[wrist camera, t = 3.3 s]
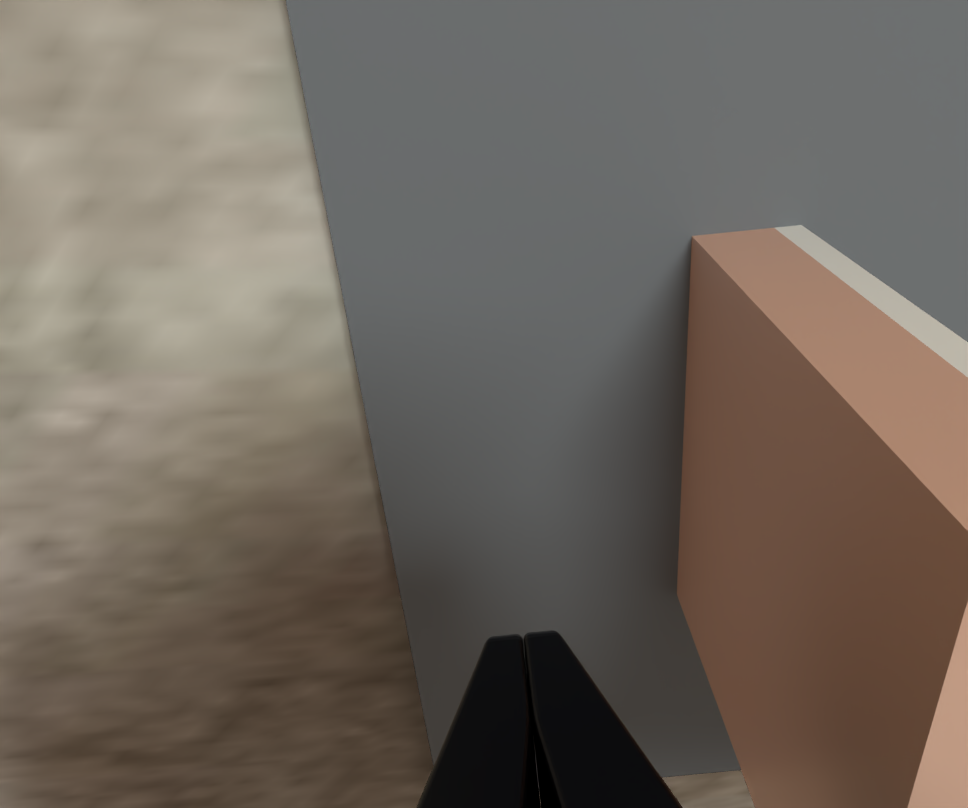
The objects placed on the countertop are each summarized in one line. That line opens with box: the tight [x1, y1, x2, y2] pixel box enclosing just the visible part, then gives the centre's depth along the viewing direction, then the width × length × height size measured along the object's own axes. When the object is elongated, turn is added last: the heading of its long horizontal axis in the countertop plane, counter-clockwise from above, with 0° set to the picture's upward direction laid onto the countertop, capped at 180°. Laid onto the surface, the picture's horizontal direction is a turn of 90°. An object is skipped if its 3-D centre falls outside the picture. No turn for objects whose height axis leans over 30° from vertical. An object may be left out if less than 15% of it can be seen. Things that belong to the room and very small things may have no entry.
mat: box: [286, 0, 968, 786], centre depth 13 cm, size 18×18×1 cm
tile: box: [677, 225, 968, 808], centre depth 10 cm, size 7×2×7 cm, turn 5°
